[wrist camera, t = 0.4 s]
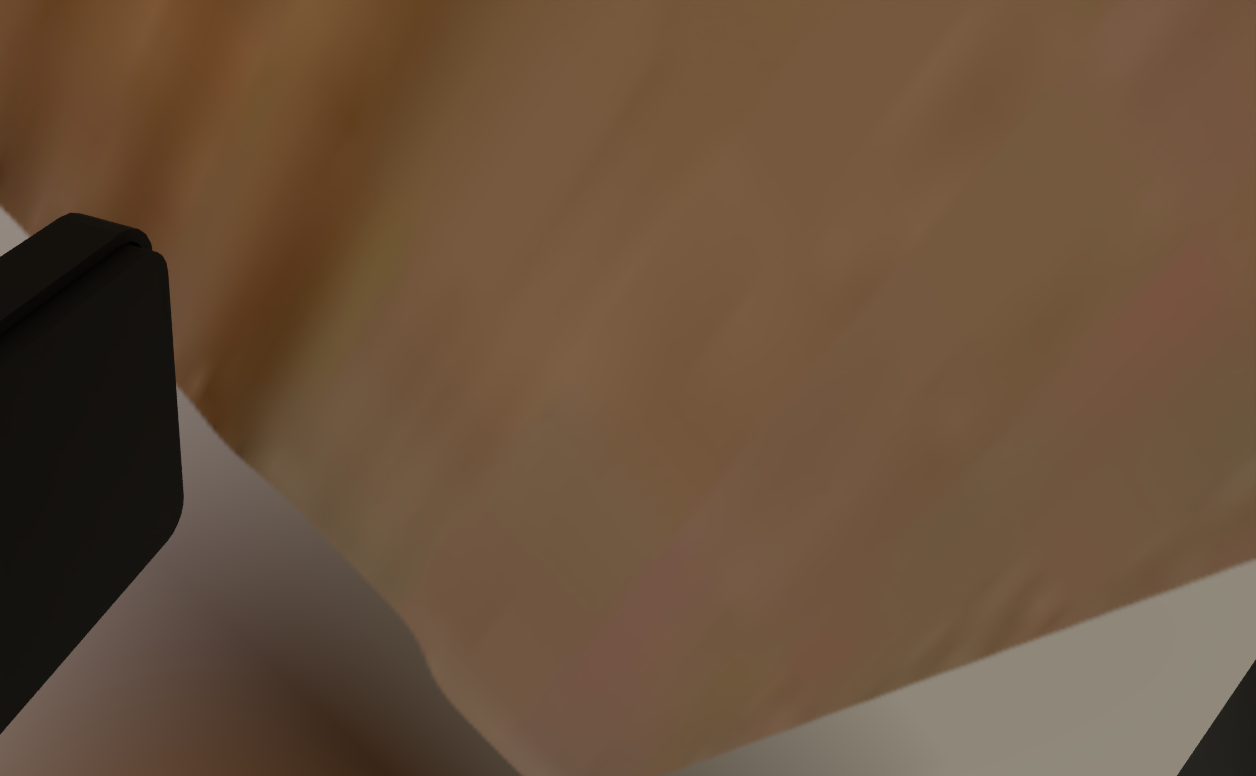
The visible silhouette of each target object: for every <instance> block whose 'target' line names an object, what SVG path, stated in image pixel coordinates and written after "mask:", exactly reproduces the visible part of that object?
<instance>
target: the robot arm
mask: <svg viewBox="0 0 1256 776" xmlns="http://www.w3.org/2000/svg"><path fill="white" fill-rule="evenodd" d="M183 499H184V495H183V480H182V465H181V451H180V437H179V422H178V407H177V393H176V378H175V364H174V350H173V335H172V321H171V306H170V292H169V277H168V269H167V263H166V261H165V259H164V257H163V256H162V255H161V254H159V253H158V252H155V251H152V245H151V243H150V241H149V239H148V237H147V235H146V234H145V233H143V232H142V231H141V230H139V229H136V228H132V227H129V226H125V225H121V224H118V223H114V222H110V221H106V220H103V219H99V218H95V217H92V216H88V215H84V214H81V213H69V214H67V215H64V216H62V217H60V218H58V219H57V220H55V221H54V222H52V223H51V224H49V225H48V226H46V227H45V228H43V229H42V230H40V231H39V232H37V233H36V234H34V235H33V236H31V237H30V238H28V239H27V240H25V241H24V242H22V243H21V244H19V245H18V246H16V247H15V248H13V249H12V250H10V251H8V252H7V253H5V254H4V255H3V256H1V257H0V734H1V733H2V732H3V731H4V729H5V728H6V727H7V726H8V725H9V724H10V722H11V721H12V720H13V719H14V718H15V717H16V715H17V714H18V713H19V712H20V711H21V710H22V709H23V707H24V706H25V705H26V704H27V703H28V702H29V700H30V699H31V698H32V697H33V696H34V695H35V694H36V692H37V691H38V690H39V689H40V688H41V687H42V685H43V684H44V683H45V682H46V681H47V680H48V679H49V677H50V676H51V675H52V674H53V673H54V672H55V670H56V669H57V668H58V667H59V666H60V665H61V663H62V662H63V661H64V660H65V659H66V657H68V655H69V654H70V653H71V652H72V651H73V649H74V648H75V647H76V646H77V645H78V644H79V643H80V642H81V640H82V639H83V638H84V637H85V636H86V635H87V633H88V632H89V631H90V630H91V629H92V628H93V626H94V625H95V624H96V623H97V622H98V621H99V620H100V618H101V617H102V616H103V615H104V614H105V613H106V611H107V610H108V609H109V608H110V607H111V606H112V604H113V603H114V602H115V601H116V600H117V599H118V597H119V596H120V595H121V594H122V593H123V592H124V591H125V589H126V588H127V587H128V586H129V585H130V584H131V583H132V581H133V580H134V579H135V578H136V577H137V576H138V574H139V573H140V572H141V571H142V570H143V569H144V567H145V566H146V565H147V564H148V563H149V562H150V561H151V559H152V558H153V557H154V556H155V555H156V554H157V552H158V551H159V550H160V549H161V548H162V547H163V545H164V544H165V543H166V542H167V541H168V540H169V538H170V537H171V535H172V534H173V532H174V530H175V528H176V526H177V524H178V522H179V519H180V516H181V513H182V508H183ZM1177 776H1256V660H1255V661H1254V663H1253V664H1252V666H1251V667H1250V669H1249V670H1248V672H1247V673H1246V675H1245V676H1244V678H1243V679H1242V681H1241V682H1240V684H1239V685H1238V687H1237V688H1236V689H1235V691H1234V693H1233V694H1232V695H1231V697H1230V698H1229V700H1228V701H1227V703H1226V704H1225V706H1224V707H1223V709H1222V710H1221V712H1220V713H1219V715H1218V716H1217V717H1216V719H1215V720H1214V722H1213V723H1212V725H1211V727H1210V728H1209V729H1208V731H1207V732H1206V734H1205V735H1204V737H1203V738H1202V740H1201V741H1200V743H1199V744H1198V746H1197V747H1196V748H1195V750H1194V751H1193V753H1192V754H1191V756H1190V757H1189V759H1188V760H1187V762H1186V763H1185V765H1184V766H1183V768H1182V769H1181V771H1180V772H1179V774H1178V775H1177Z"/></svg>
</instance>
